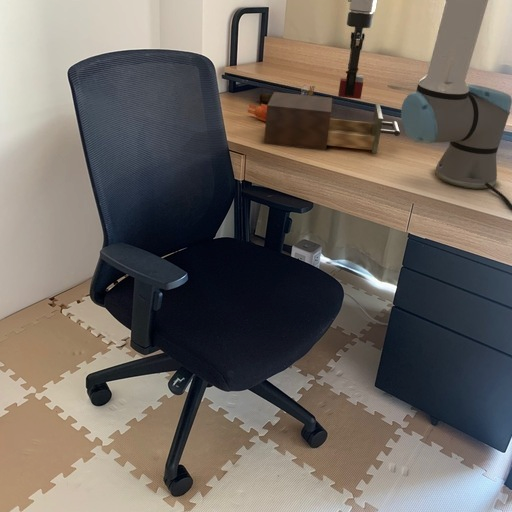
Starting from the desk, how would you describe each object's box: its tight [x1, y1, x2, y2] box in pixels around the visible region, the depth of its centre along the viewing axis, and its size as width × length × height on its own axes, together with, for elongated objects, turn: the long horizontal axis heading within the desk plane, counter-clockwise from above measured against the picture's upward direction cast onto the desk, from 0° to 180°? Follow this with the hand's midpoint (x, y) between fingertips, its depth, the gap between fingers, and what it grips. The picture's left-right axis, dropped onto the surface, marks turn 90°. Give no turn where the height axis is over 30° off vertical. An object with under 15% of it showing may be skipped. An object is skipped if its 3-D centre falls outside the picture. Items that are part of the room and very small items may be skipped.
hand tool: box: [259, 91, 273, 105], centre depth 186 cm, size 19×4×5 cm, turn 37°
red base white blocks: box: [337, 74, 364, 100], centre depth 164 cm, size 7×3×6 cm, turn 82°
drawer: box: [327, 103, 401, 154], centre depth 155 cm, size 24×17×10 cm
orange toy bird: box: [247, 103, 268, 122], centre depth 173 cm, size 5×8×12 cm
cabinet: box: [263, 91, 333, 151], centre depth 156 cm, size 18×17×11 cm
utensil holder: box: [300, 85, 315, 96], centre depth 174 cm, size 6×6×12 cm
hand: (348, 93), depth 165 cm, fingers closed on red base white blocks, 3 cm apart
